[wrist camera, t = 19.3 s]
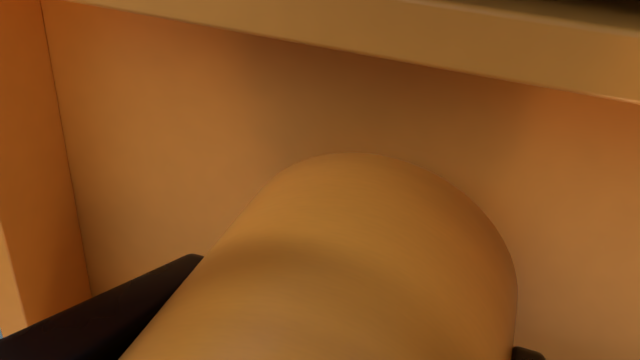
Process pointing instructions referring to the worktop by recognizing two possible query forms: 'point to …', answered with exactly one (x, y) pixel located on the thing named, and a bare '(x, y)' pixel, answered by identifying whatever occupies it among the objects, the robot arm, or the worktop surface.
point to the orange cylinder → (345, 273)
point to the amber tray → (322, 137)
